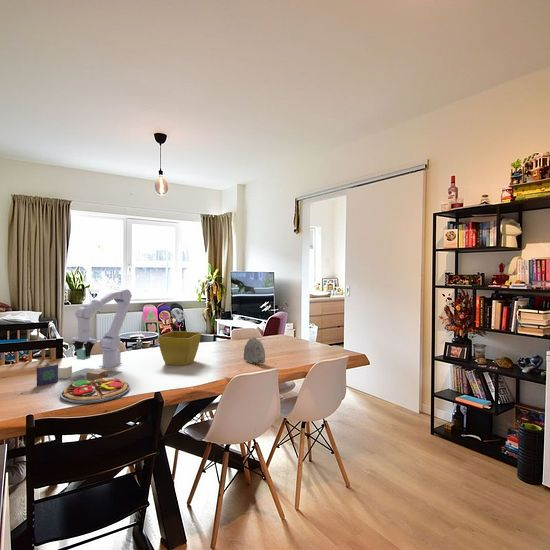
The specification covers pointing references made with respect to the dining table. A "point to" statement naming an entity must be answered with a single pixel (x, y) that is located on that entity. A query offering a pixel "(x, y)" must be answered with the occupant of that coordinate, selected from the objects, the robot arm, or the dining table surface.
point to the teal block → (81, 354)
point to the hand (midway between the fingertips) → (83, 355)
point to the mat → (82, 375)
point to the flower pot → (179, 347)
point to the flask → (47, 374)
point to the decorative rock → (254, 351)
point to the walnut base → (97, 374)
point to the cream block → (64, 371)
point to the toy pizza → (94, 390)
